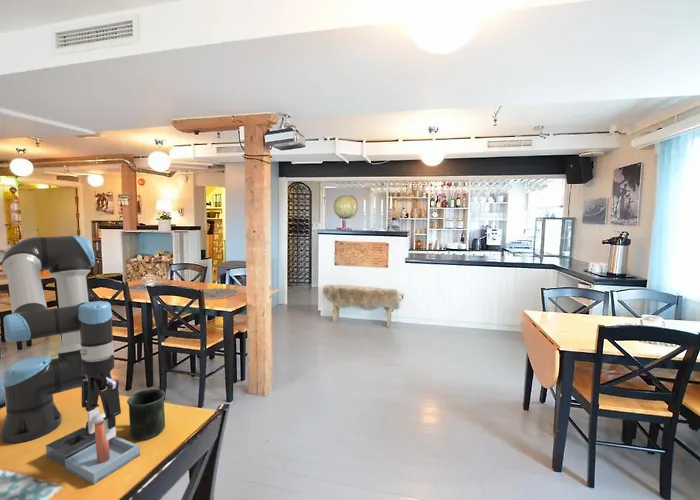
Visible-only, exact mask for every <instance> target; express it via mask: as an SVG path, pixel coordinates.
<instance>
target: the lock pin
mask: <svg viewBox="0 0 700 500" xmlns="http://www.w3.org/2000/svg"><path fill="white" fill-rule="evenodd" d="M104 417H106V416H105V413H104V412H102V413H101V412H99V414H97V415H95V416H93V417H92V423H94V427H95V439H96V452H97V462H98V463H103V462H106V461H107V460H109V459H110V453H109V440H107V441H105V436H104V420H103V418H104Z"/></svg>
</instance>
